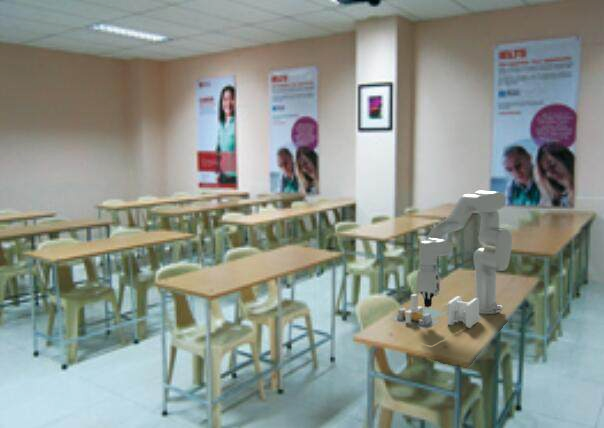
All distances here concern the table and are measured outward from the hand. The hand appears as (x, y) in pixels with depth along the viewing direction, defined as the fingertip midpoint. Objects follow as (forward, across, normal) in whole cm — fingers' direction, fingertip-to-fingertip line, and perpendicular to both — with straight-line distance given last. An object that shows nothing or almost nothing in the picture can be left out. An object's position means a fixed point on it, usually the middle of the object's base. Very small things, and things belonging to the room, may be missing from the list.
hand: (427, 306), depth 237 cm
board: (+9, +7, 0) cm, 12 cm away
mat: (+9, +10, -13) cm, 19 cm away
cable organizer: (+9, -12, -11) cm, 19 cm away
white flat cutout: (+9, +7, 0) cm, 12 cm away
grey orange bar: (+8, +7, 0) cm, 11 cm away
